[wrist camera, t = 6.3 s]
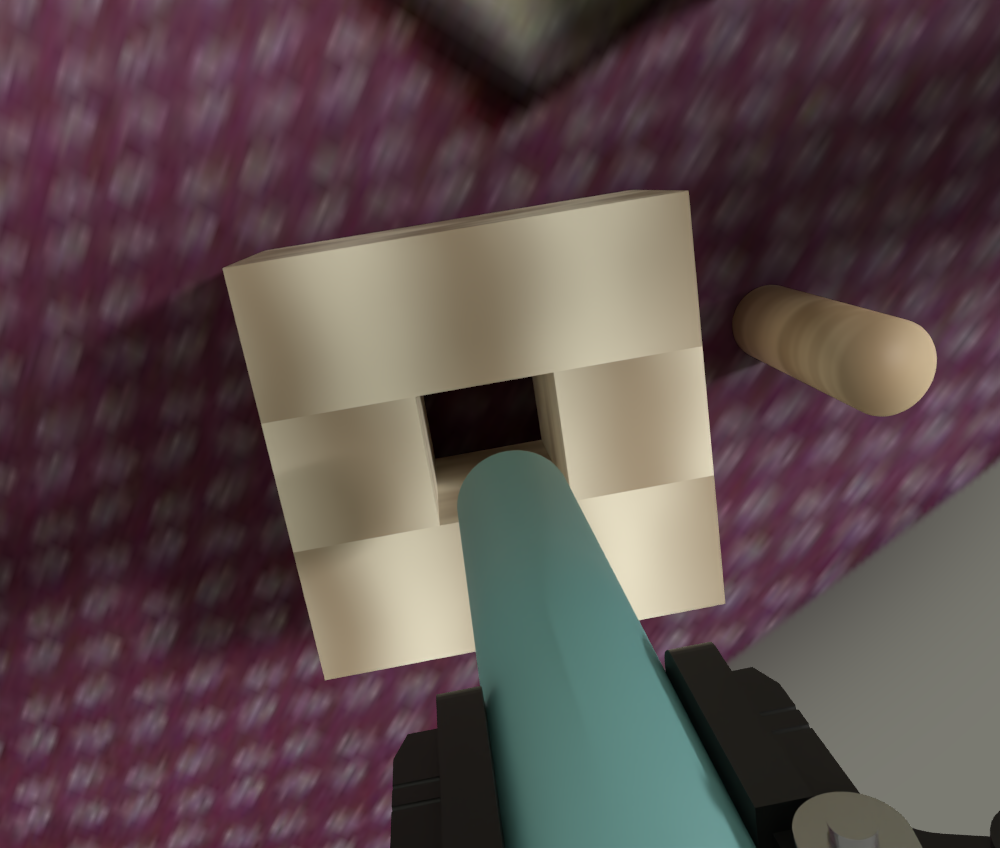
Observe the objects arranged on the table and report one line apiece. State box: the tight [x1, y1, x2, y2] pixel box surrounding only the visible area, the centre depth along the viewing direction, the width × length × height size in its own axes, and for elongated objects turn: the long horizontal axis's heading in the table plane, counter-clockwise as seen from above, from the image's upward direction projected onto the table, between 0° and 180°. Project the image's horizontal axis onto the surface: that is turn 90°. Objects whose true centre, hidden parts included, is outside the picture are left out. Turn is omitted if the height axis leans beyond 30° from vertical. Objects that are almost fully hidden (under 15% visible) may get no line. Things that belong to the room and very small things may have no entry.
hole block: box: [222, 190, 725, 680], centre depth 30 cm, size 14×14×7 cm
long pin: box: [457, 450, 756, 848], centre depth 15 cm, size 3×3×14 cm
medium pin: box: [732, 285, 937, 416], centre depth 29 cm, size 3×3×9 cm
